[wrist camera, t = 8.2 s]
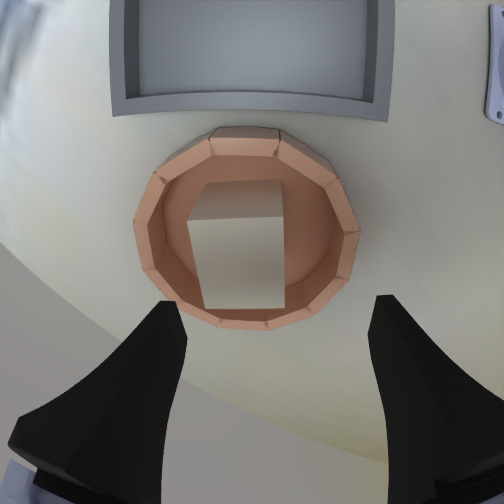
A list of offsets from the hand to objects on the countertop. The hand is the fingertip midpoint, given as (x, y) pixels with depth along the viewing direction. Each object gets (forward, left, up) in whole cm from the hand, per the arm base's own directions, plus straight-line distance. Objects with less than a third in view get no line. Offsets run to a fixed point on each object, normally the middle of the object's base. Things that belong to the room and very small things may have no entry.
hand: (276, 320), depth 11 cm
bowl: (+2, +1, -9) cm, 9 cm away
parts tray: (+2, -12, -9) cm, 15 cm away
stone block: (+2, 0, -8) cm, 8 cm away
